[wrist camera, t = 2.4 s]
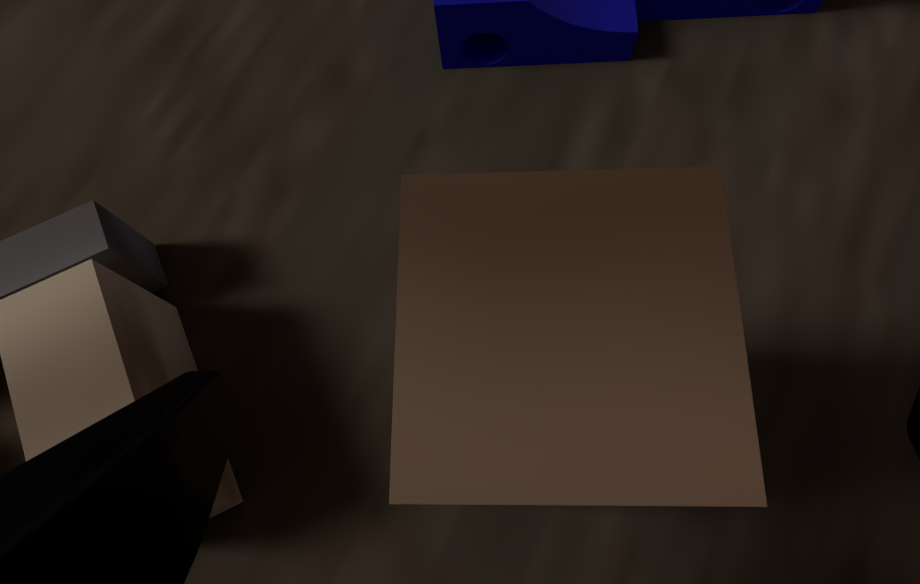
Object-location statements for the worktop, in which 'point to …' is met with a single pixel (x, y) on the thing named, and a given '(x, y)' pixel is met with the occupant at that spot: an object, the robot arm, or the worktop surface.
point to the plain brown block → (571, 342)
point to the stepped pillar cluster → (87, 328)
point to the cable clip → (570, 27)
